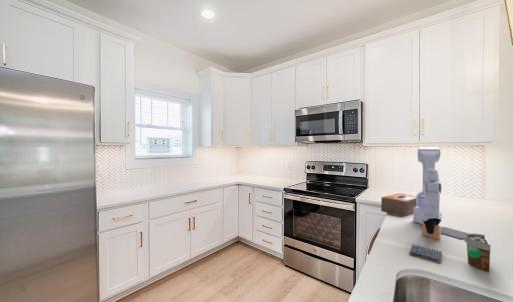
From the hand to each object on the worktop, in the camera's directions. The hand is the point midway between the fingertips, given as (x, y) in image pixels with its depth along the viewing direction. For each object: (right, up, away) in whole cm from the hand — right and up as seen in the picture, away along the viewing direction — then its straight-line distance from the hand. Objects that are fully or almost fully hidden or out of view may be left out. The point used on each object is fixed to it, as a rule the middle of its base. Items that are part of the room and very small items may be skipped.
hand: (431, 233), depth 107 cm
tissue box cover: (+15, -2, +44) cm, 47 cm away
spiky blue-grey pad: (-17, -2, -19) cm, 26 cm away
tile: (0, -2, 0) cm, 2 cm away
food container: (-4, -2, -25) cm, 26 cm away
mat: (+14, -2, +4) cm, 15 cm away
